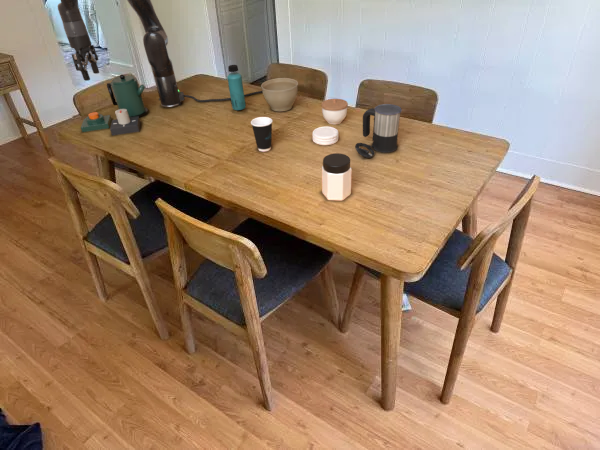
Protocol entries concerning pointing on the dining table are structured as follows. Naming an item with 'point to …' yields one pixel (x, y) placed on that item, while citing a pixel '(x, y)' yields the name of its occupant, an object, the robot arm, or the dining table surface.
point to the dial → (122, 116)
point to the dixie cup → (262, 132)
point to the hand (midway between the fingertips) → (92, 76)
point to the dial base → (125, 126)
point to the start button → (93, 115)
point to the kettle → (128, 95)
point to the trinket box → (334, 110)
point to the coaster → (325, 135)
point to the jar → (336, 176)
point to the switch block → (96, 123)
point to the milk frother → (381, 129)
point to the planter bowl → (280, 93)
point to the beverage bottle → (236, 88)
